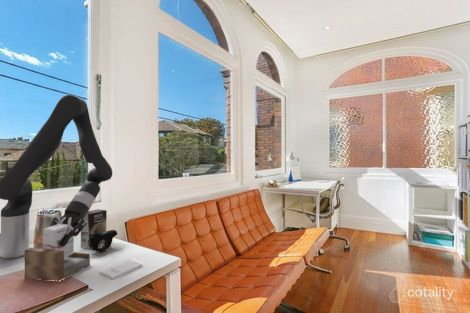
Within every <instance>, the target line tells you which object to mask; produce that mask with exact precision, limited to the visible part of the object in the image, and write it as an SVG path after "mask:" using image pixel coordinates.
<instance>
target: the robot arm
mask: <svg viewBox="0 0 470 313" xmlns="http://www.w3.org/2000/svg"><path fill="white" fill-rule="evenodd" d="M72 121H73V123H74V125H75V128H76V130H77V135H78V143H79V147H80V150H81V153H82V156H83V158H84V160H85V162H86V163H88V164H92V165H93V166H94V168H91V169H90V170H89V171H88V172H87V174H86V176H85V179H84V182H83V185H81V187H80V189H79V190H78V191H77V193H76V194H75V195H74V196H73V198H72V199H71V201H70V202H69V204H68V205H67V206H66V208H65V210H64V214H63V215H62V216H61V217H59V218H58V217H56V216H55V217H54V218H52V221H51V223H50V224H49V227H51V226H54V225H58V224H67V225H68V230H67V231H66V235H64V236H63V238H62V240H61V241H60V243H59V245H60V246H61V247H64V246H65V245H66V244H67V242H68V241H69V239H70V238H71V237H72V236H74V237H77V236H78V235H79V234H81V230H82V229H83V228H84V227H85V226H86V224H87V222H86V221H85V220H84V218H85V216H86V214H87V213H88V211H90V209H91V207H92V206H93V205H94V202H95V200H96V198H97V197H98V195H99V193H100V191H101V186H100V184H101V183H103V182H106V181H109V180H111V179H112V177H113V169H112V167H111V165H110V163H109V162H108V161H107V159H106V158H105V157H104V156H103V154H102V151H101V148H100V145H99V143H98V141H97V138H96V135H95V132H94V129H93V127H92V126H93V125H92V122H91V119H90V112H89V108H88V104H87V102H86V101H85V100H84V99H83V98H81V97H79V96H76V95H74V94H66V95H63V96H61V97H60V98H59V100H58V101H57V102H56V104H55V106H54V108H53V110H52V112H51V114H50V115H49V117H48V118H47V120H46V121H45V122H44V124H43V125H42V127H41V128H40V130H39V131H38V132H37V133H36V135H35V136H34V137H33V138H32V139H31V141H30V142H29V144H28V145H27V147H26V148H25V150H24V151H23V153H22V154H21V155H20V156H19V158H18V159H17V161H16V162H15V164H14V165H12V167H11V168H10V169H9V170H8V171H7V173H5V175H3V177H2V178H1V179H0V200H3V201H7V203H6V205H5V206H3V208H1V210H0V258H1V259H8V260H9V259H14V258H20V257H23V256H25V249H28V248H30V210H31V207H32V202H33V183H32V182H31V180H30V179H29V178H30V177H31V175H32V174H34V172H35V171H37V170H38V169H39V168H40V167H42V166H43V165H44V164H46V163H47V162H48V161H49V160H50V159H52V157H53V155H54V154H55V152H56V151H57V150H58V149H59V147H60V144H61V143H62V141H63V140H62V139H63V135H64V132H65V130H66V129H67V127H68V126H69V124H70V123H71V122H72ZM71 226H72V227H74V229H73V228H72V227H71ZM70 231H71V232H70Z"/></svg>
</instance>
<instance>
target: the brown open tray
mask: <svg viewBox="0 0 470 313" xmlns="http://www.w3.org/2000/svg"><path fill="white" fill-rule="evenodd" d="M90 265H91V253H89V252H88V253H87V252H78V251H74V254H72V255H70V256H68V257H65V258H64V251H59V250H49V249H43V248H36V247H29V248H28V249H25V255H24V279H25V278H30V279H29V280H33V279H41V280H40V281H42V280H55V281H56V280H57V281H59V280H61V279H63V278H66V277H68V276H70V277H72V276H73V275H75V274H76V273H78V272H80V271H82V270H83V269H85V268H87V267H89V266H90ZM68 278H69V277H68ZM66 279H67V278H66Z"/></svg>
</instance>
